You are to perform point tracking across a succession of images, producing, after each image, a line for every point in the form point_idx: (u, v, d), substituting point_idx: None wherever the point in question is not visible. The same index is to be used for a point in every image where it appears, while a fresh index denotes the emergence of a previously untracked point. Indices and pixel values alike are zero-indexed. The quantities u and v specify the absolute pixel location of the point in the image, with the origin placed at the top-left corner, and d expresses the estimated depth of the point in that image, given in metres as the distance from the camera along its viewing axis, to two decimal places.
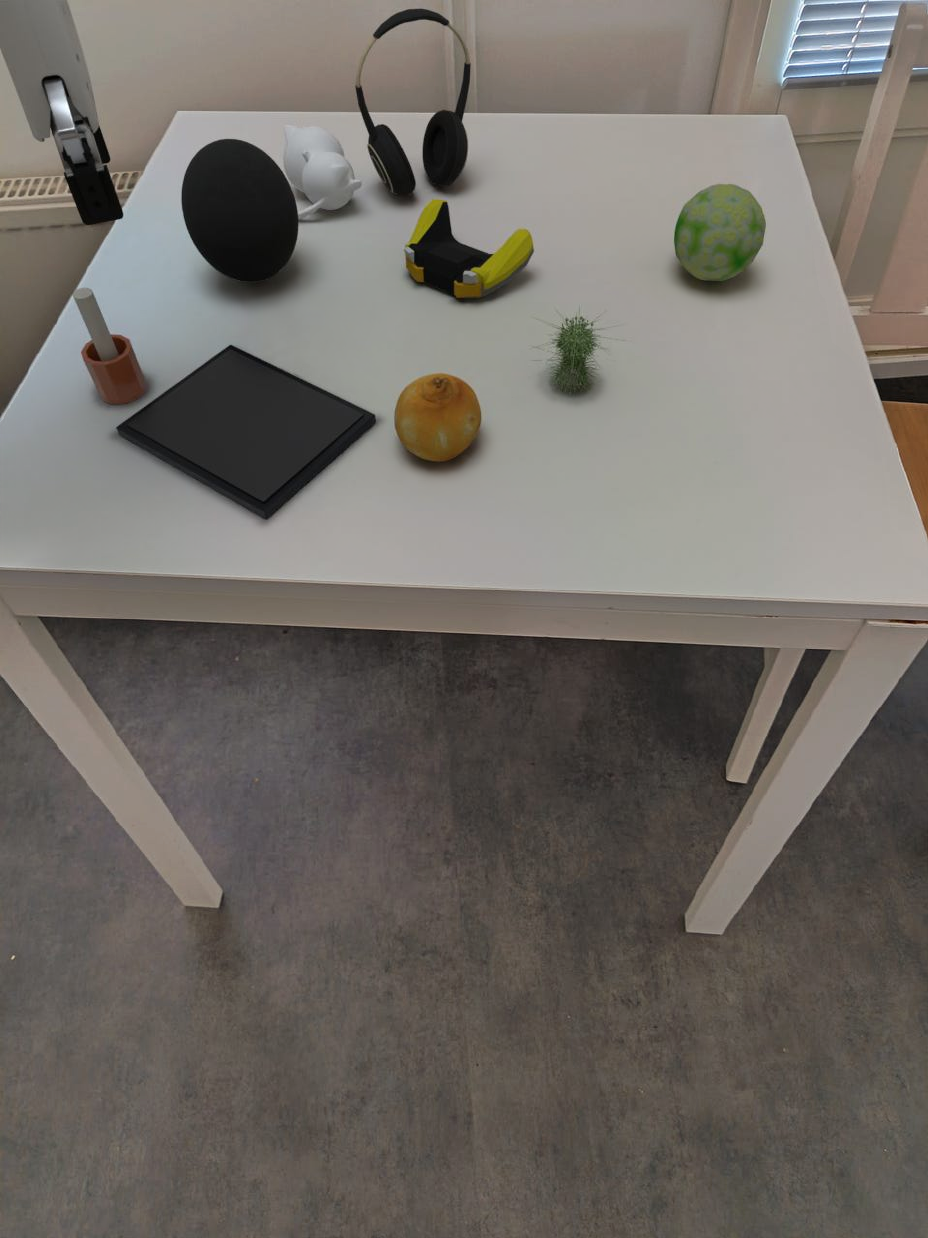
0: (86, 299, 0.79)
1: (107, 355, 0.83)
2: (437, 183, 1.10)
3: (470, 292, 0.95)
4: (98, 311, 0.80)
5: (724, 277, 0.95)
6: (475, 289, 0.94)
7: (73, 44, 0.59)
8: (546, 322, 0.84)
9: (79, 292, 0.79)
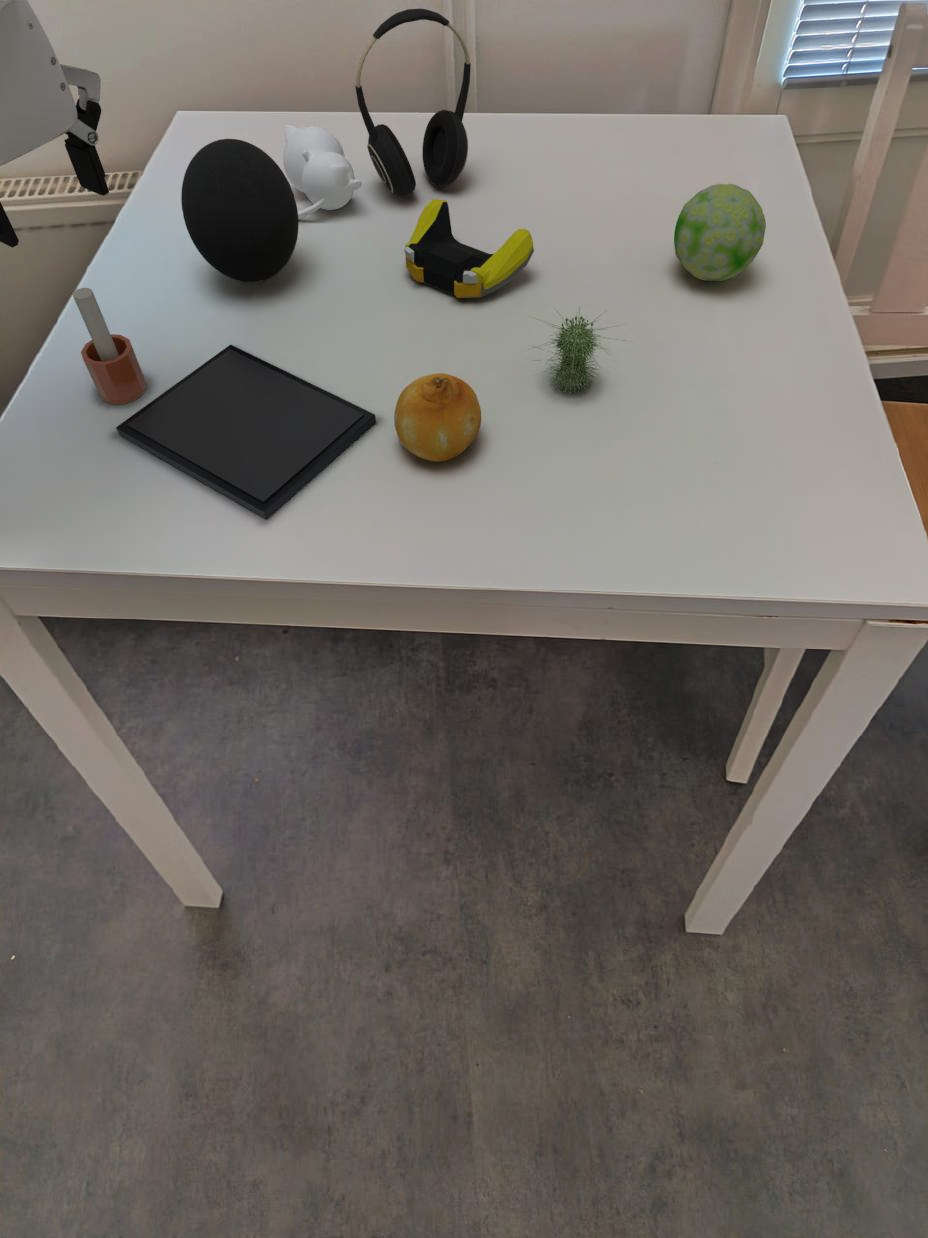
0: (86, 299, 0.79)
1: (107, 355, 0.83)
2: (437, 183, 1.10)
3: (470, 292, 0.95)
4: (98, 311, 0.80)
5: (724, 277, 0.95)
6: (475, 289, 0.94)
7: None
8: (546, 322, 0.84)
9: (79, 292, 0.79)
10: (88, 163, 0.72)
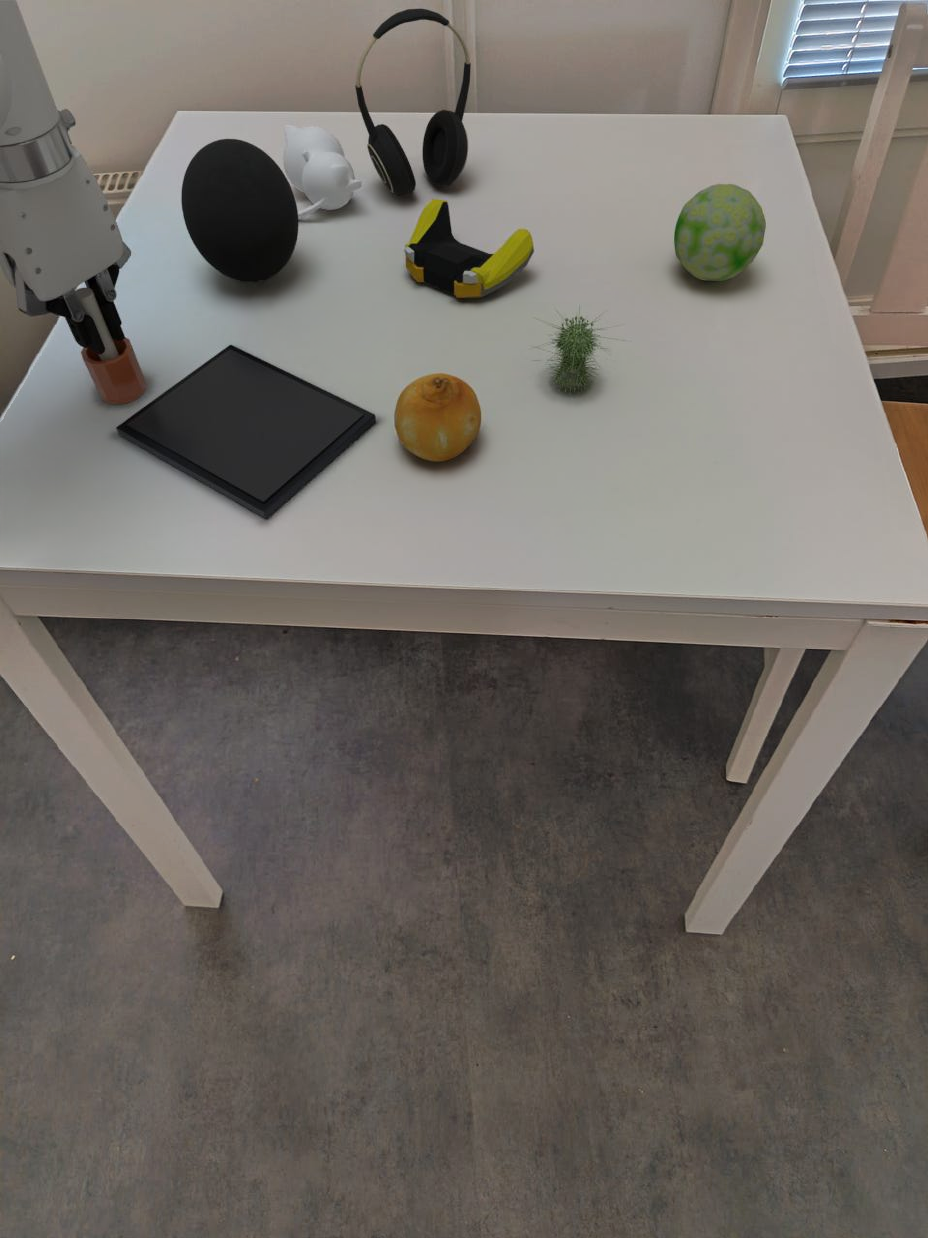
0: (86, 299, 0.79)
1: (107, 354, 0.83)
2: (437, 183, 1.10)
3: (470, 292, 0.95)
4: (98, 311, 0.80)
5: (724, 277, 0.95)
6: (475, 289, 0.94)
7: (25, 241, 0.70)
8: (546, 322, 0.84)
9: (80, 292, 0.79)
10: (107, 316, 0.81)
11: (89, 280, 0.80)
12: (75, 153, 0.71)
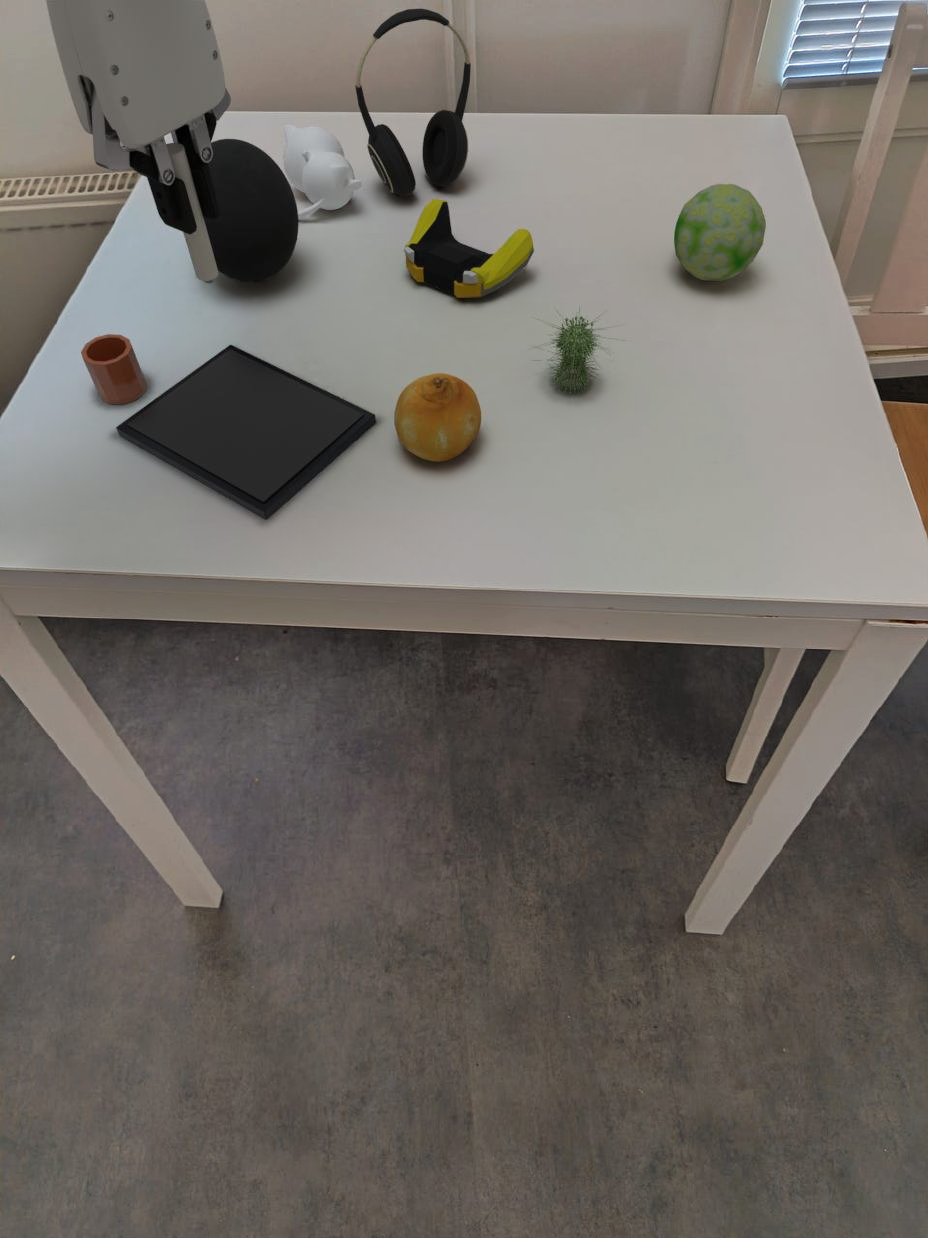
0: (177, 156, 0.61)
1: (196, 237, 0.66)
2: (437, 183, 1.10)
3: (470, 292, 0.95)
4: (189, 175, 0.62)
5: (724, 277, 0.95)
6: (475, 289, 0.94)
7: (111, 54, 0.52)
8: (546, 322, 0.84)
9: (167, 147, 0.61)
10: (200, 183, 0.63)
11: (178, 134, 0.62)
12: None
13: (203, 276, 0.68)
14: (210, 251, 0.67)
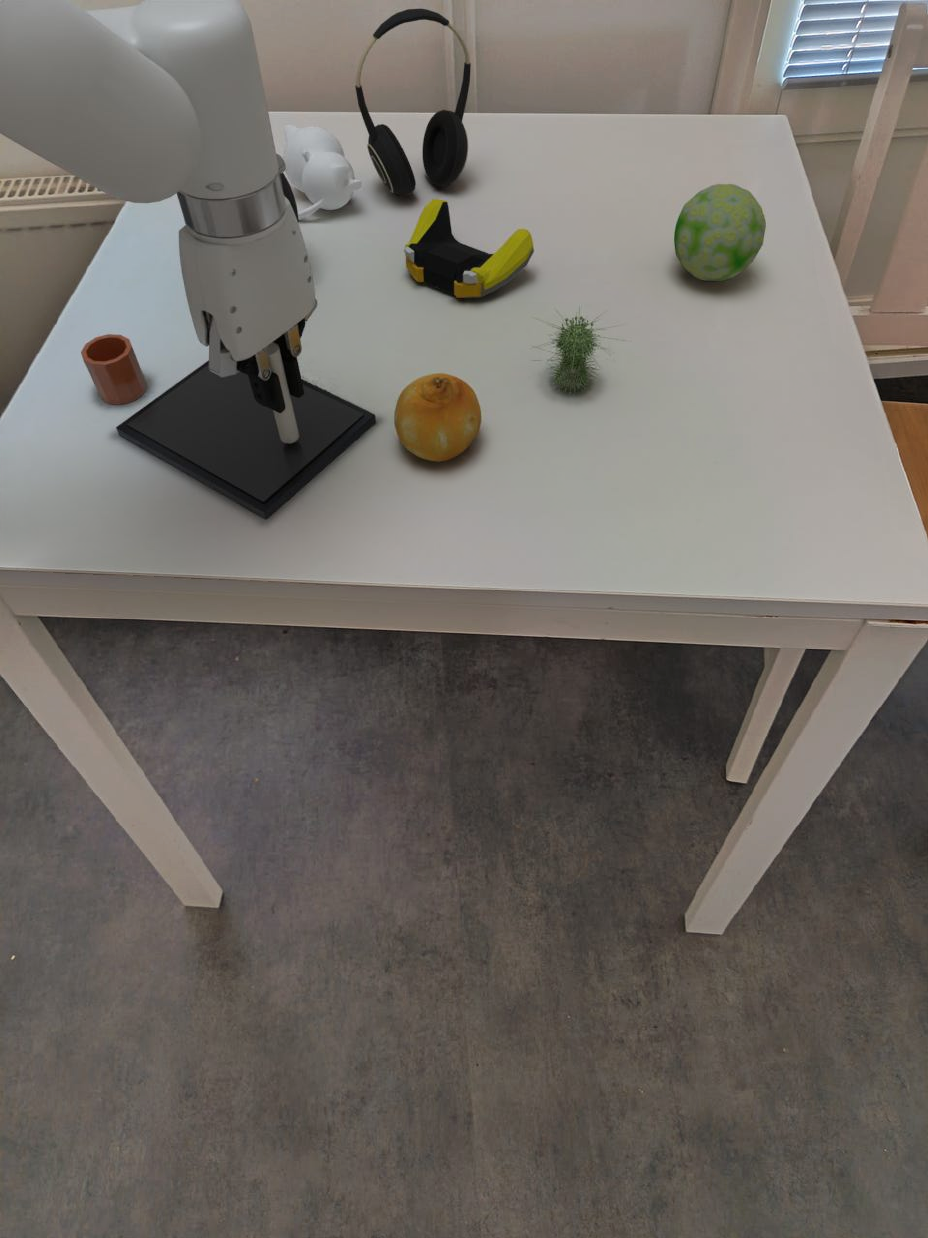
0: (273, 355, 0.72)
1: (284, 412, 0.77)
2: (437, 183, 1.10)
3: (470, 292, 0.95)
4: (282, 367, 0.74)
5: (724, 277, 0.95)
6: (475, 289, 0.94)
7: (231, 299, 0.64)
8: (546, 322, 0.84)
9: None
10: (290, 372, 0.75)
11: None
12: (284, 202, 0.64)
13: (287, 440, 0.80)
14: (294, 421, 0.79)
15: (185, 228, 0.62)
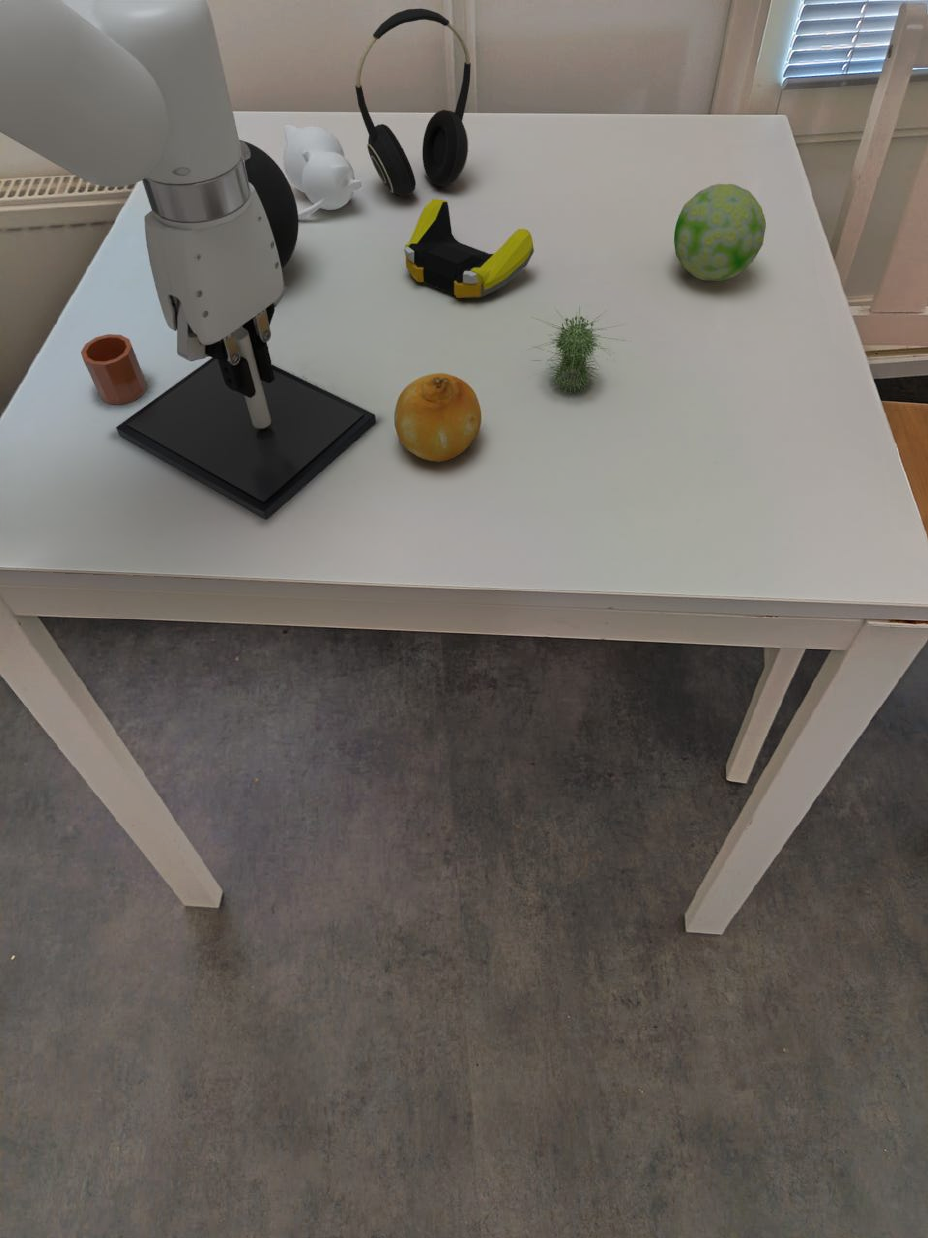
0: (243, 340, 0.73)
1: (255, 397, 0.78)
2: (437, 183, 1.10)
3: (470, 292, 0.95)
4: (252, 352, 0.75)
5: (724, 277, 0.95)
6: (475, 289, 0.94)
7: (197, 283, 0.65)
8: (546, 322, 0.84)
9: (235, 333, 0.74)
10: (260, 358, 0.76)
11: None
12: (249, 188, 0.65)
13: (258, 425, 0.81)
14: (265, 406, 0.80)
15: (151, 213, 0.63)
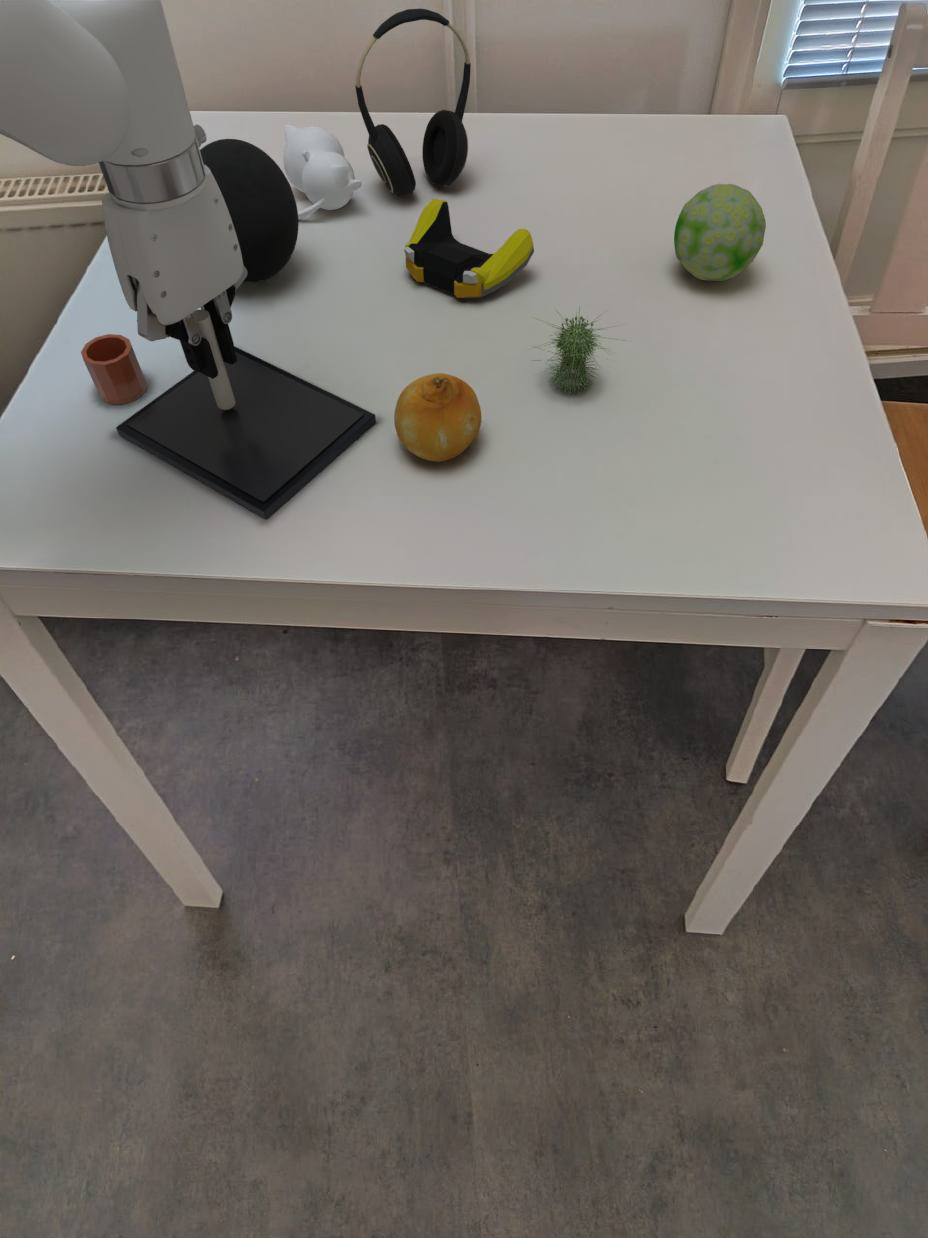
0: (203, 322, 0.75)
1: (218, 378, 0.80)
2: (437, 183, 1.10)
3: (470, 292, 0.95)
4: (213, 334, 0.77)
5: (724, 277, 0.95)
6: (475, 289, 0.94)
7: (154, 263, 0.66)
8: (546, 322, 0.84)
9: (196, 314, 0.75)
10: (221, 339, 0.77)
11: None
12: (205, 171, 0.67)
13: (223, 406, 0.83)
14: (229, 387, 0.82)
15: (108, 195, 0.65)
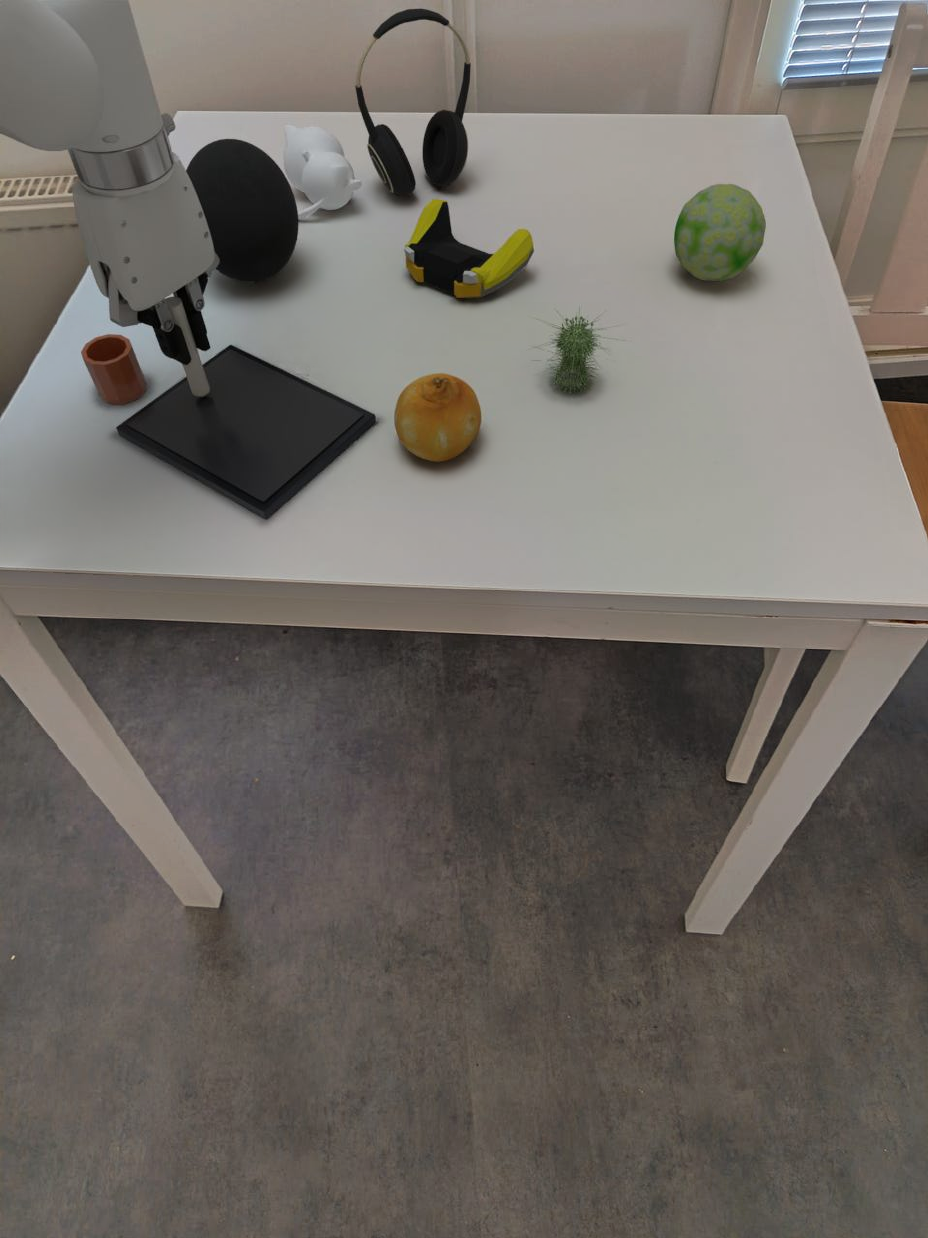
0: (176, 308, 0.76)
1: (191, 365, 0.81)
2: (437, 183, 1.10)
3: (470, 292, 0.95)
4: (186, 321, 0.78)
5: (724, 277, 0.95)
6: (475, 289, 0.94)
7: (124, 250, 0.68)
8: (546, 322, 0.84)
9: (168, 301, 0.77)
10: (194, 326, 0.79)
11: (177, 289, 0.78)
12: (174, 159, 0.68)
13: (197, 393, 0.84)
14: (203, 374, 0.83)
15: (78, 182, 0.66)
